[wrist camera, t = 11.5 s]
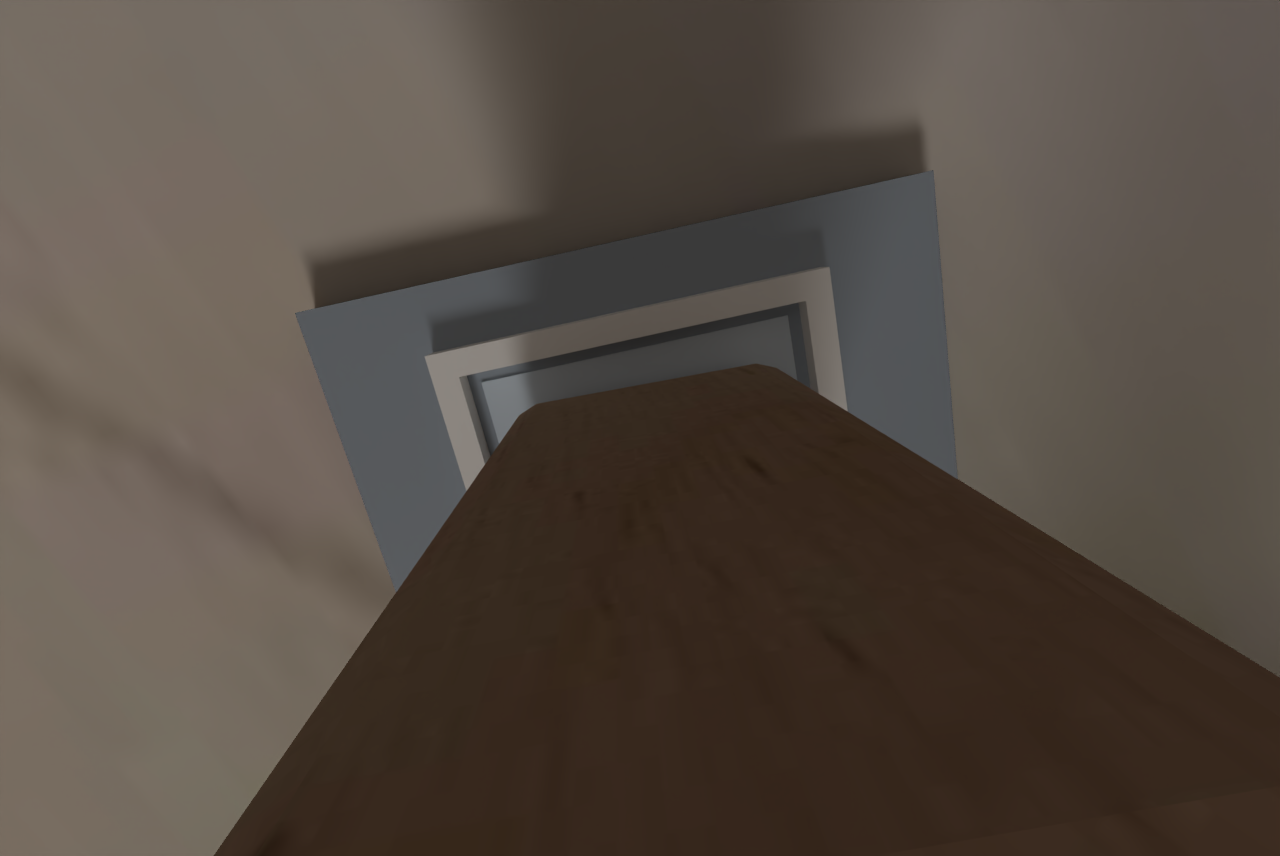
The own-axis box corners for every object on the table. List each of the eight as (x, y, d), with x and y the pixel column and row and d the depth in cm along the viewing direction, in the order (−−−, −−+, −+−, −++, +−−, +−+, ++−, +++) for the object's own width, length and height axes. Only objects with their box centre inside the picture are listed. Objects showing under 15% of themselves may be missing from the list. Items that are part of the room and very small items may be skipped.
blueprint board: (913, 176, 23) (948, 165, 21) (952, 620, 28) (983, 653, 26) (314, 310, 24) (280, 314, 21) (460, 722, 29) (445, 764, 26)
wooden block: (514, 402, 22) (-145, 1227, 3) (776, 354, 22) (1805, 899, 3) (569, 632, 25) (398, 1867, 6) (805, 590, 25) (1455, 1707, 6)
